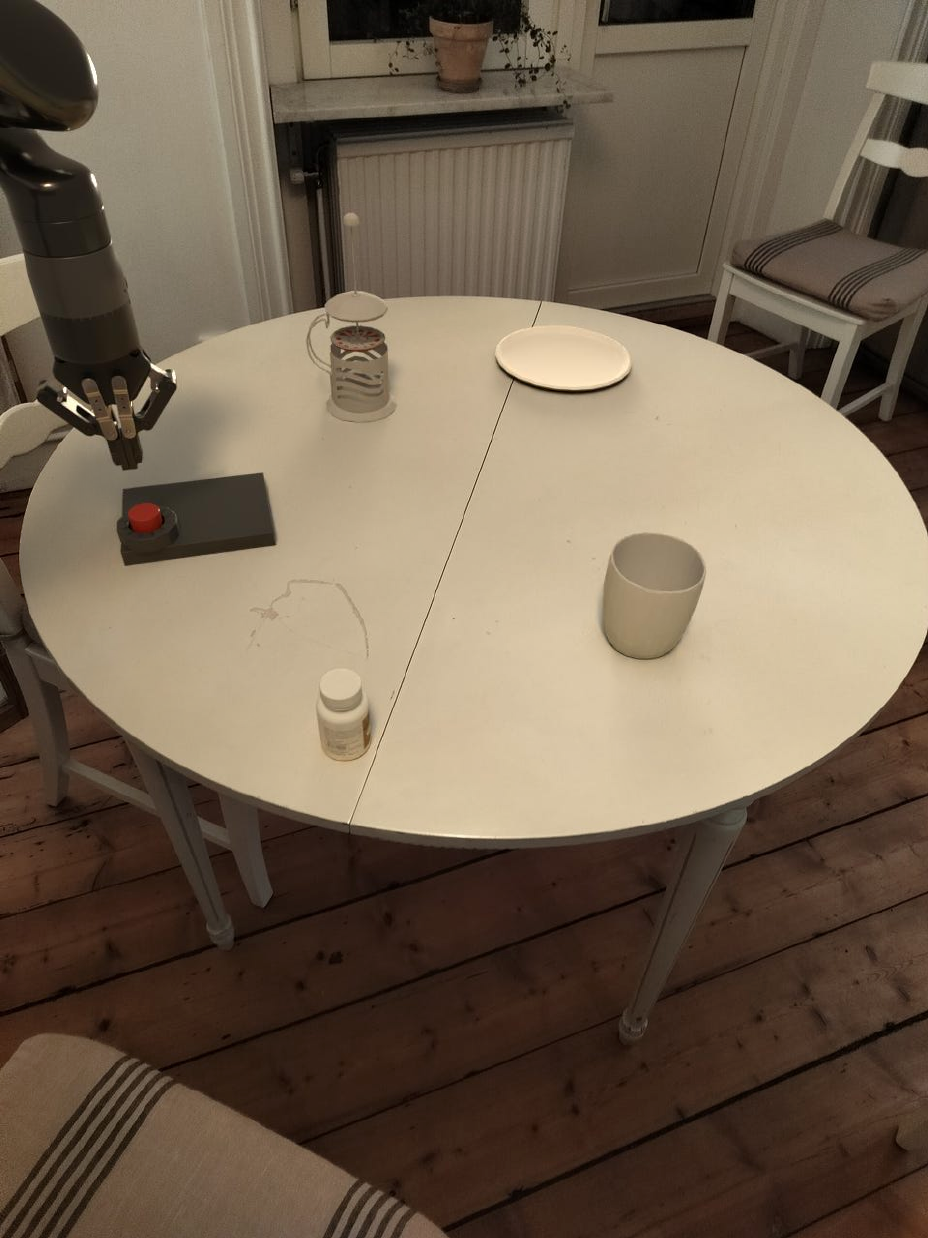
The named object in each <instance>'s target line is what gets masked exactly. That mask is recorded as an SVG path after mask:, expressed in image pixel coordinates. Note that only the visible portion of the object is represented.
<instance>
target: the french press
mask: <svg viewBox="0 0 928 1238" xmlns="http://www.w3.org/2000/svg"><path fill="white" fill-rule="evenodd" d="M342 220H343V225H344V226H347V227H350V234H351V235H350V237H351V251H352V252H351V253H352V254H351V255H352V271H353V274H352V275H353V289H354V290H351V291H347V292H343V293H339V294H336V295H334V296H333V297H331V298H330V299H328V300H327V302H326V303H324V311H325V312H323V313H321V314H319V315H318V316H316V317H315V318H314V319H313V320H312V321H311V323H310V325H309V327H308V332H307V334H306V338H305V343H306V350H307V353H308V357H309V359H310V360H311V361H312V363H313V364H314V365H315V366H316V367H318V368H319V369H321V370H322V371H324V372H326V373H327V374H329V381H330V382H329V383H330V394H331V395H330V396H329V397H328V398H327V400H326V410H327V411H328V412H329V413H330V414H331V415H332V416H333V417H336V418H338V419H341V420H343V421H347V422H355V423H365V422H366V423H367V422H374V421H378V420H381V419H385V418H386V417H388V416H389V415H391V414H393V413H394V411H395V410H396V408H397V406H398V403H397V400H396V397H395V396H393V395H392V393H390V387H389V386H390V382H389V381H390V379H389V377H390V376H389V349H388V345H387V344H386V342H385V340H386V335H385V333H384V332H382V331H381V330H380V329H379V328H375V327H373V326H367V325H362V324H360V325H359V323H368V322H375V321H377V320H379V319H381V318H383V317H384V316H385V315H386V313H387V311H388V310H389V305H388V303H387V302H385V301H384V300H383V299H382V298H381V297H379V296H377V295H375V294H373V293H370V292H366V291H360V290H357V281H356V263H355V262H356V261H355V245H354V229H353V227H356V226H359V225H360V217H359V216H358V215H357V214H356V213H354V212H348V213H346V214H345V215H344V217H343V219H342ZM324 316H326V319H325V318H322V317H324ZM330 317H331V318H332V319H335V320H336V321H340V322H344V323H345V322H346V323H351V324H355V323H356V324H355V325H347V326H343V327H340V328H338V329H336V330H335V331H333V332H332V333H331V335H330V336H329V337H330V343H331V344H330V347H329V348H330V349H329V350H330V352H329V360H330V363H327V362H326V361H323V360H322V359H321V358H320V357H319V356H318V355H317V354H316V352H315V351H314V348H313V347H312V346H313V345H312V340H311V332H312V330H313V328H314V327H315V326H316V325H317V324H318V323H321V322H322V321H323V322H324V323H325V324H324V325H325V329H329V327H330V321H331V320H330ZM319 318H320V319H319ZM342 350H343V352H342ZM370 351H373V352H375V353H377V354H378V355H379V356H376V354H373V353H372V352H370ZM311 353H312V354H311ZM352 353H362V354H364V355H366V356H368V357H369V358H371V360H370V359H367V358H366V357H365V356H360V355H353V356H350V357H347V358H346V359H343V358H344V357H345V356H347V355H349V354H352ZM312 355H313V356H314V357H313V356H312ZM314 358H316V360H318V361H319V362H320V363H321V364H323V365H325V366H327V367H329V368H330V371H329V370H328V369H326V368H324V367H322V366H320V365H319V364H318V363H317V362H316V361H315V360H314ZM352 371H354V373H350V372H352ZM380 374H382V375H380ZM370 376H373V377H374V378H376V379H373V378H372V377H370ZM381 382H382V383H381Z"/></svg>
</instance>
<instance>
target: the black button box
mask: <svg viewBox="0 0 928 1238" xmlns="http://www.w3.org/2000/svg"><path fill="white" fill-rule="evenodd" d="M121 503H122V504H121V516H120V518H119V519H118V520H116V533H117V537H118V540H119V543H120V556H121V559H122V562H123V565H124V566H126V567H127V566H132V565H139V564H145V563H155V562H162V561H168V560H169V561H170V560H176V559H184V558H191V557H198V556H206V555H212V554H213V555H214V554H220V553H226V552H235V551H242V550H249V549H256V548H264V547H265V548H266V547H272V546H276V545H277V544H276V537H275V536H276V535H275V530H274V524H273V520H272V513H271V509H270V503H269V497H268V492H267V486H266V480H265V474H264V472H254V473H246V474H236V475H229V476H220V477H212V478H204V479H196V480H195V479H194V480H186V481H185V480H184V481H178V482H169V483H161V484H152V485H143V486H137V487H136V486H134V487H126V488H122V501H121ZM143 503H151V504H154V505H156V506H158V508H159V510H160V514H161V517H162V521H163V524H162V526H161V528H159V529H157V530H155V531H153V532H149V533H137V532H135V531H133V529H132V527H131V524H130V520H129V517H128V512H129V510H130V509H131V508H132V507H134V506H136V505H139V504H143Z"/></svg>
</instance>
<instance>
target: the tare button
mask: <svg viewBox="0 0 928 1238" xmlns="http://www.w3.org/2000/svg"><path fill="white" fill-rule="evenodd" d="M128 517H129V520H130V524H131V527H132V529H133V531H135V532H137V533H149V532H153V531H155V530H157V529H159V528H161V526H162V524H163V521H162V517H161V514H160V510H159V508H158V506H156V505H154V504H151V503H143V504H139V505H136V506H134V507H132V508H131V509H130V510H129V512H128Z"/></svg>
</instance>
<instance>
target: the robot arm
mask: <svg viewBox="0 0 928 1238" xmlns="http://www.w3.org/2000/svg"><path fill="white" fill-rule="evenodd" d="M93 62H94V61H93V60H92V58H91V56H90V54H89V52H88V50H87V48H86V47H85V45H84V44H83V42H82V41H81V39H80V37H79V36H78V35H77V34H76V33H75V31H73V29H72V28H71V27H70V26H69V25H68V24H67V23H66V22H65V21H64V20H63V19H62V18H61V17H60V16H58V15H57V14H56V13H54V12H53V11H52V10H51V9H49V8H48V7H46V5H44V4H42V3H41V2H39V1H37V0H0V190H1V191H2V193H3V194H4V197H5V199H6V201H7V205H8V207H9V209H8V210H9V212H10V216H11V218H12V222H13V225H14V229H15V231H16V234H17V237H18V240H19V243H20V246H21V250H22V253H23V259H24V263H25V269H26V275H27V278H28V282H29V285H30V288H31V291H32V294H33V297H34V300H35V303H36V306H37V310H38V313H39V315H40V319H41V321H42V324H43V328H44V330H45V334H46V336H47V340H48V343H49V346H50V349H51V353H52V355H53V360H54V361H53V366H52V375H51V376H50V377H49V378H48V379H42V380H40V381H39V382H38V386H37V392H36V397H35V398H36V401H37V402H38V403H39V404H41V405H42V406H43V407H45V408H46V409H47V410H49V411H50V412H52V413H53V414H55V415H56V416H57V417H59V418H60V419H62V420H63V421H65V422H66V423H67V424H69V425H70V426H71V427H72V428H74V429H76V430H77V431H78V432H80V433H81V434H83V435H84V436H86V437H89V438H90V437H94V436H98V437H99V436H100V437H102V438H104V440H105V441H106V444H107V446H108V450H109V453H110V456H111V460H112V463H113V464H114V465H115V466H116V467H121V470H122V472H126V471H133V470H139V464H143V461H144V460H143V459H144V450H143V447H142V446H143V445H142V443H141V439H140V435H139V433H140V432H143V431H145V432H146V431H147V432H149V431H151V430H153V429H154V427H155V425H156V423H157V422H158V420H159V419H160V417H161V415H162V414H163V412H164V411H165V409H166V407H167V406H168V404H169V402H170V401H171V399H172V397H173V396H174V395H175V392H176V391H177V389H178V385H177V383H178V380H177V374H176V372H175V370H174V369H171V368H167V369H163V368H160V367H158V366H156V365H155V364H153V363H152V360H151V357H150V355H149V354H148V353H147V351H145V350H144V348H143V346H142V343H141V337H140V335H139V330H138V326H137V322H136V319H135V315H134V310H133V307H132V302H131V299H130V294H129V290H128V289H129V284H128V281H127V278H126V276H125V274H124V270H123V266H122V262H121V259H120V258H119V255H118V253H117V250H116V247H115V245H114V242H113V238H112V235H111V234H112V233H111V230H110V226H109V223H108V218H107V214H106V210H105V207H104V202H103V198H102V194H101V191H100V187H99V185H98V180H97V178H96V176H95V174H94V172H93V171H92V170H91V169H90V168H89V167H88V166H87V165H85V164H84V163H82V162H80V161H77V160H75V159H73V158H70V157H68V156H66V155H64V154H61V153H60V152H58V151H56V150H55V149H54V148H52V147H51V146H49V144H48V143H47V142H46V140H45V139H44V137H43V136H42V134H41V133H40V131H42V132H43V131H44V132H53V133H67V132H73V131H76V130H79V129H81V128H82V127H84V126H85V125H86V124H87V123H88V122H90V120H91V119H92V118H93V116H94V114H95V113H96V110H97V107H98V103H99V97H100V96H99V95H100V89H99V81H98V80H99V79H98V75H97V72H96V68H95V65H94V63H93ZM148 378H149V379H150V381H149V388H150V390H151V392H150V394H149V395H148V398H147V399H146V401H145V402H144V404H143V405H142V407H141V409H140V411H138V412H135V408H134V401H135V400H136V399H137V398H138V396H139V394H140V393H141V391H142V389H143V387H144V386H145V384H146V381H147V380H148ZM68 391H70V392H71V393H72V394H73V395H75V396H76V397H77V398H78V399H80V400H81V401H82V402H84V403H85V404H87V405H89V406H90V408H91V409H92V411H91V410H89V409H88V408H87V407H86V406H85V405H83V404H81V403H80V402H79V401H77V400H75V398H73V397H72V396H70V395H69V392H68ZM113 405H114V406H116V411H117V415H116V413H115V409H114V408H113ZM117 416H118V418H119V421H118V418H117ZM119 423H120V427H119Z"/></svg>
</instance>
